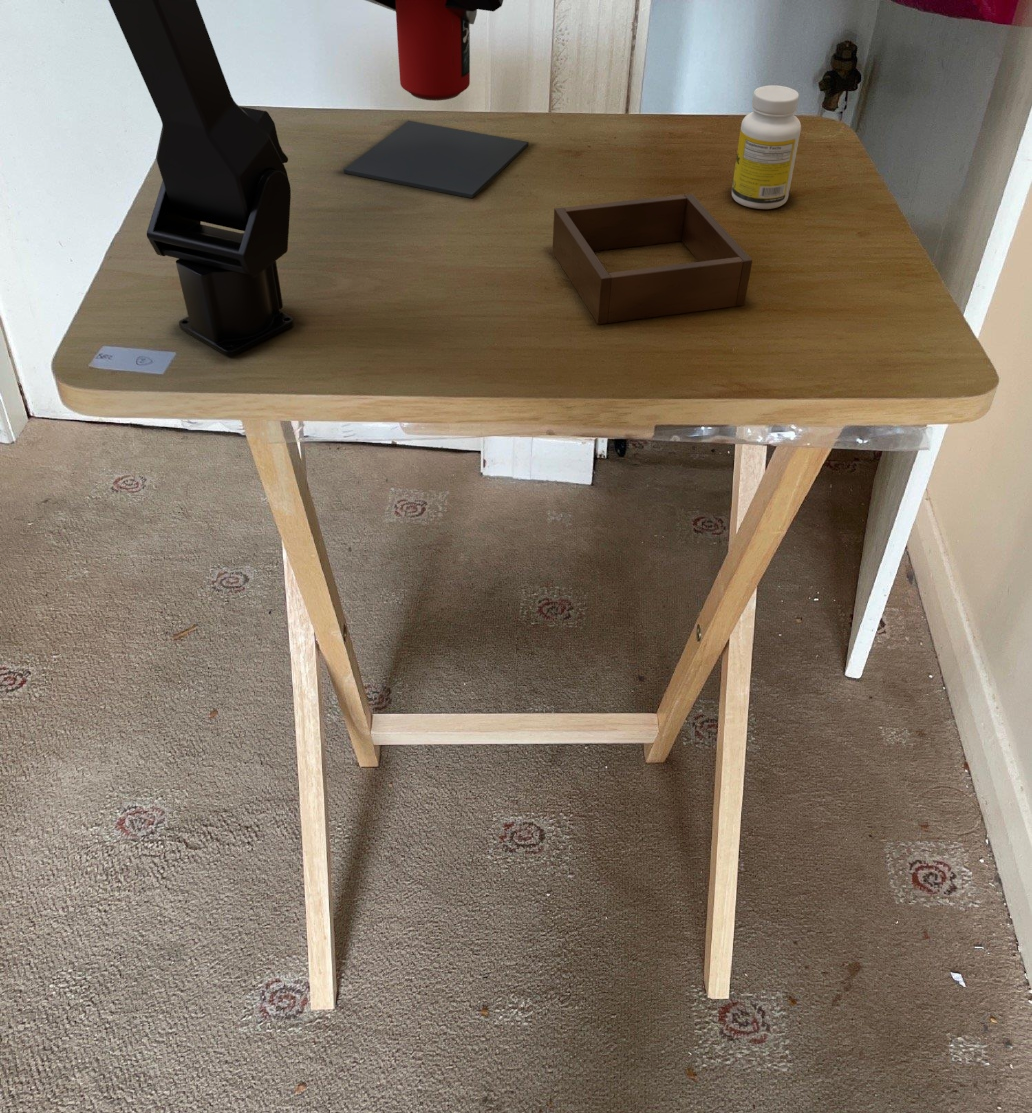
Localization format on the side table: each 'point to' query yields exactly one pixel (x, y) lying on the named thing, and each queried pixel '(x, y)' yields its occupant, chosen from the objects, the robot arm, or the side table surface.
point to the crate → (654, 288)
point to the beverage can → (432, 49)
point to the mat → (437, 158)
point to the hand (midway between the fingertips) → (439, 13)
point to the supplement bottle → (767, 149)
